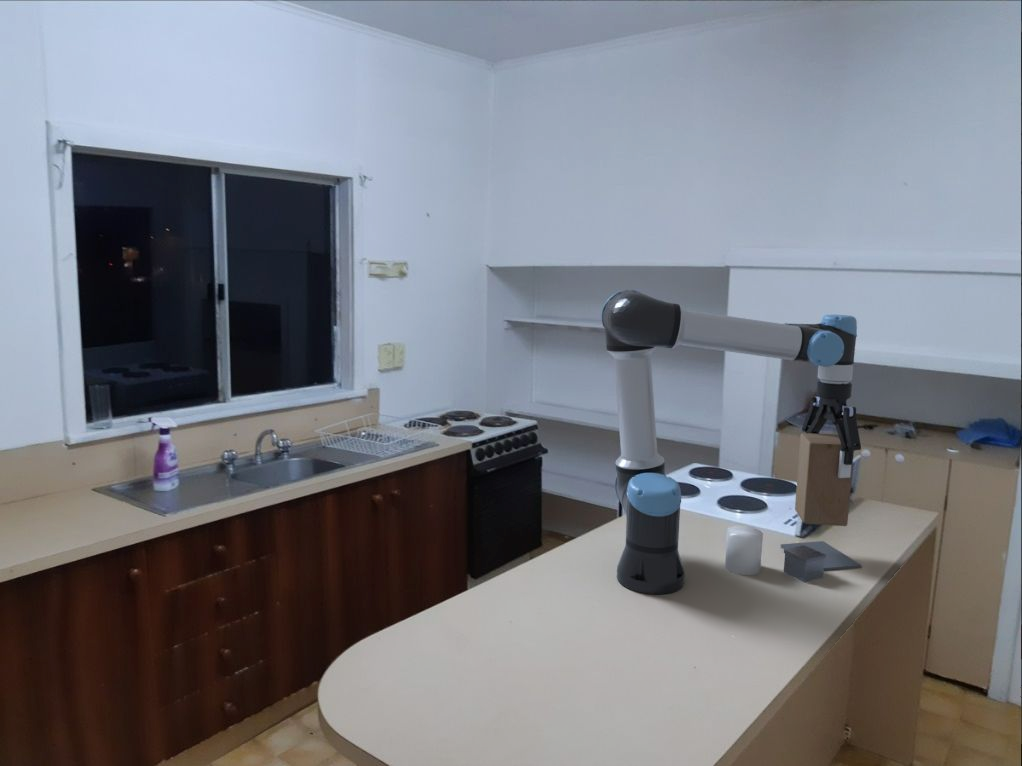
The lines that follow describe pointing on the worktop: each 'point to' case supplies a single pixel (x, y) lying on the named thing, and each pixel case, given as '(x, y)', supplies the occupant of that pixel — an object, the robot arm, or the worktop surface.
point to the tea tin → (804, 563)
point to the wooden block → (821, 481)
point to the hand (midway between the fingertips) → (827, 469)
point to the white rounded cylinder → (743, 550)
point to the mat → (828, 555)
